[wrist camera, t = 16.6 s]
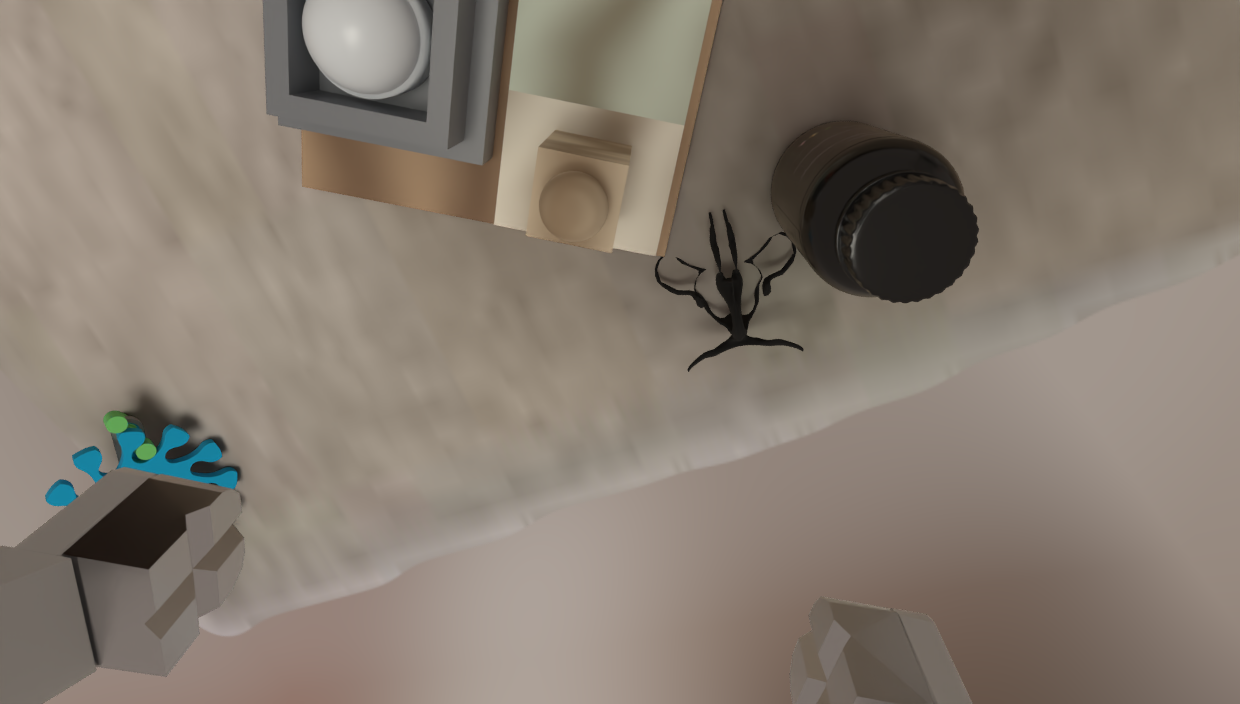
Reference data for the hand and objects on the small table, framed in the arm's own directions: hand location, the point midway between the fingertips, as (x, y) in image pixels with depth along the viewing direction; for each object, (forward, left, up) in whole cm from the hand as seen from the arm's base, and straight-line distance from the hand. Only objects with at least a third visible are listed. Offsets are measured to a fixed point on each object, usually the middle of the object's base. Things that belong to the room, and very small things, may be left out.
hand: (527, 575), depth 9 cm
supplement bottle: (-11, -2, -30) cm, 32 cm away
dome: (+12, -5, -26) cm, 29 cm away
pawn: (+2, 0, -29) cm, 29 cm away
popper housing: (+12, -5, -29) cm, 32 cm away
